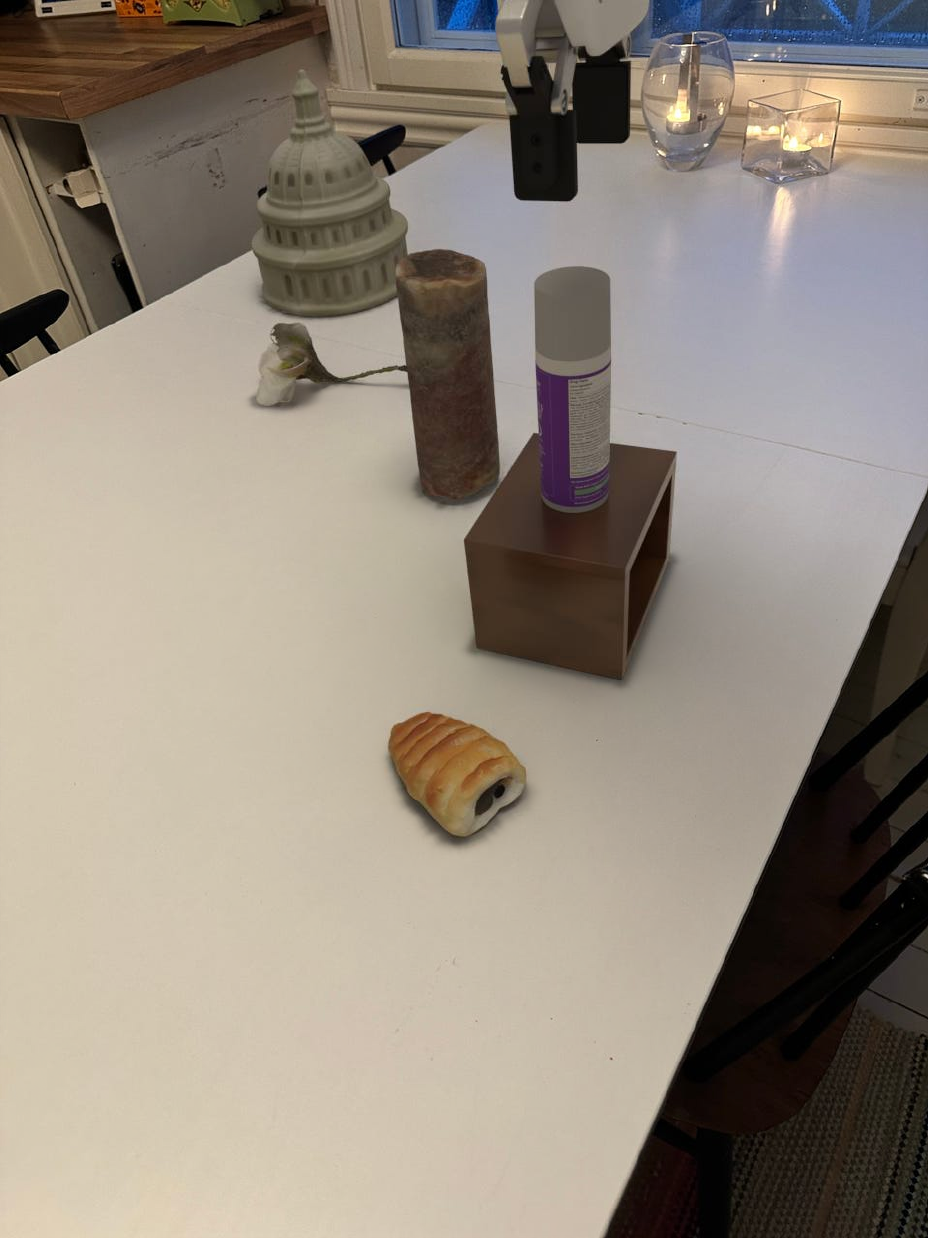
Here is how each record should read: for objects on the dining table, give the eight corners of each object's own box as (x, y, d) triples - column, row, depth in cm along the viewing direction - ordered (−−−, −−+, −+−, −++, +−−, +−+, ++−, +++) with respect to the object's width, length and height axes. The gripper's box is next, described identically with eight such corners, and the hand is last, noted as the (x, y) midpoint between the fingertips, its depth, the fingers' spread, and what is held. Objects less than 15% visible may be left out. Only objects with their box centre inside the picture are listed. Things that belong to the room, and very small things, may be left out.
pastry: (365, 766, 61) (356, 727, 58) (442, 711, 64) (436, 671, 61) (460, 852, 55) (455, 813, 53) (540, 786, 58) (538, 747, 56)
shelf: (669, 559, 74) (677, 451, 67) (621, 680, 64) (625, 568, 58) (538, 536, 77) (533, 432, 71) (475, 648, 68) (463, 539, 61)
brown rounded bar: (468, 450, 88) (446, 238, 75) (519, 479, 84) (506, 259, 71) (404, 483, 85) (370, 267, 72) (454, 515, 81) (427, 291, 67)
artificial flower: (455, 419, 96) (426, 344, 88) (263, 432, 103) (220, 364, 95) (469, 359, 100) (443, 282, 92) (284, 375, 107) (245, 305, 99)
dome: (322, 42, 116) (423, 58, 104) (356, 243, 133) (446, 277, 120) (180, 79, 107) (271, 101, 95) (235, 290, 124) (318, 332, 112)
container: (529, 486, 65) (518, 277, 55) (588, 467, 66) (588, 258, 56) (560, 521, 62) (554, 304, 52) (621, 500, 63) (627, 284, 53)
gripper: (591, -287, 32) (596, 228, 43) (700, -281, 43) (681, 123, 54) (395, -254, 34) (448, 223, 45) (547, -257, 46) (559, 124, 57)
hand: (575, 168), depth 50 cm, fingers open, 9 cm apart
